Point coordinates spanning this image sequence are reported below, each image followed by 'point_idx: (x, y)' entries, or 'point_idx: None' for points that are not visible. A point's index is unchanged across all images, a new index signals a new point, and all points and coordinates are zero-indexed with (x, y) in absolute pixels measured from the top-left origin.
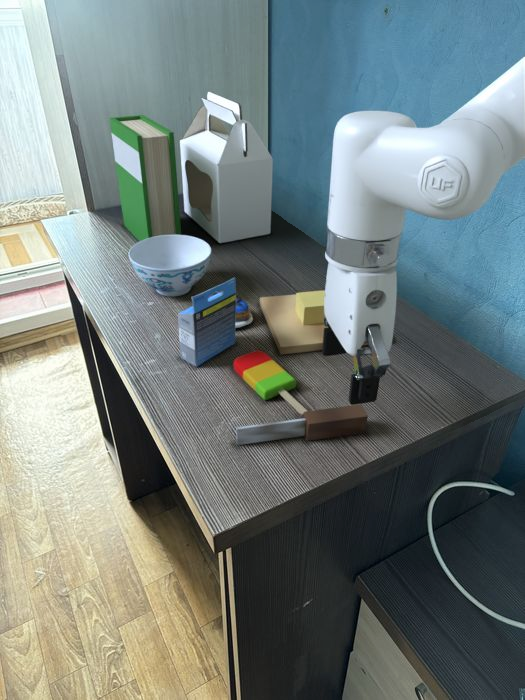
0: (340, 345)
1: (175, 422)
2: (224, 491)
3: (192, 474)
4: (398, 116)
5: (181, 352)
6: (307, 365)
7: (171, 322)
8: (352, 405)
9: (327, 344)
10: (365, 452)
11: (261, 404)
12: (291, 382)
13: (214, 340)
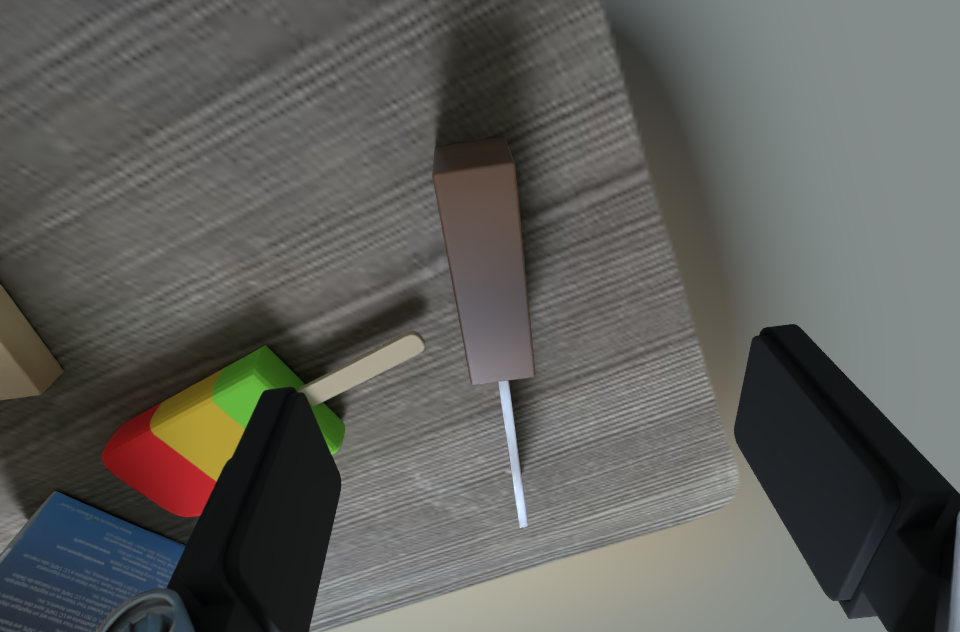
0: (300, 473)
1: (435, 572)
2: (653, 494)
3: (593, 540)
4: None
5: None
6: (102, 286)
7: None
8: (442, 215)
9: (322, 546)
10: (603, 157)
11: (360, 429)
12: (270, 378)
13: (120, 587)
